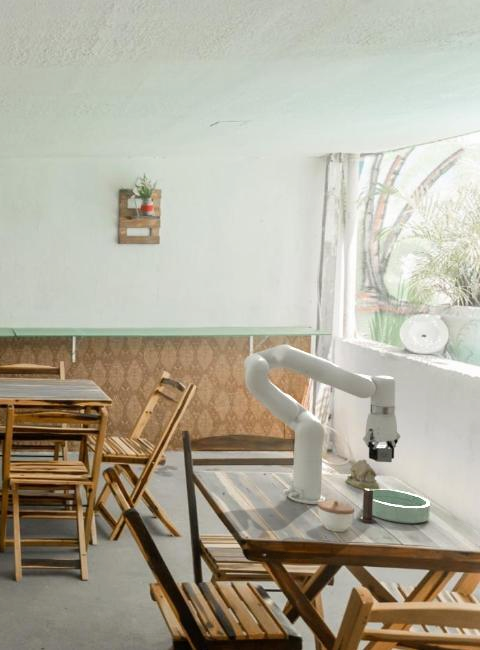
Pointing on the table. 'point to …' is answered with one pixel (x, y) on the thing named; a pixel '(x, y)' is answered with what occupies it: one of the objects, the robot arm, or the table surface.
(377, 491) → the bowl
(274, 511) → the table surface
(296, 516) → the table surface
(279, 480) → the table surface
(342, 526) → the trinket box
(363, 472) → the ceramic model
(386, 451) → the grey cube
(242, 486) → the table surface
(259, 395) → the robot arm
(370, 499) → the muddler
